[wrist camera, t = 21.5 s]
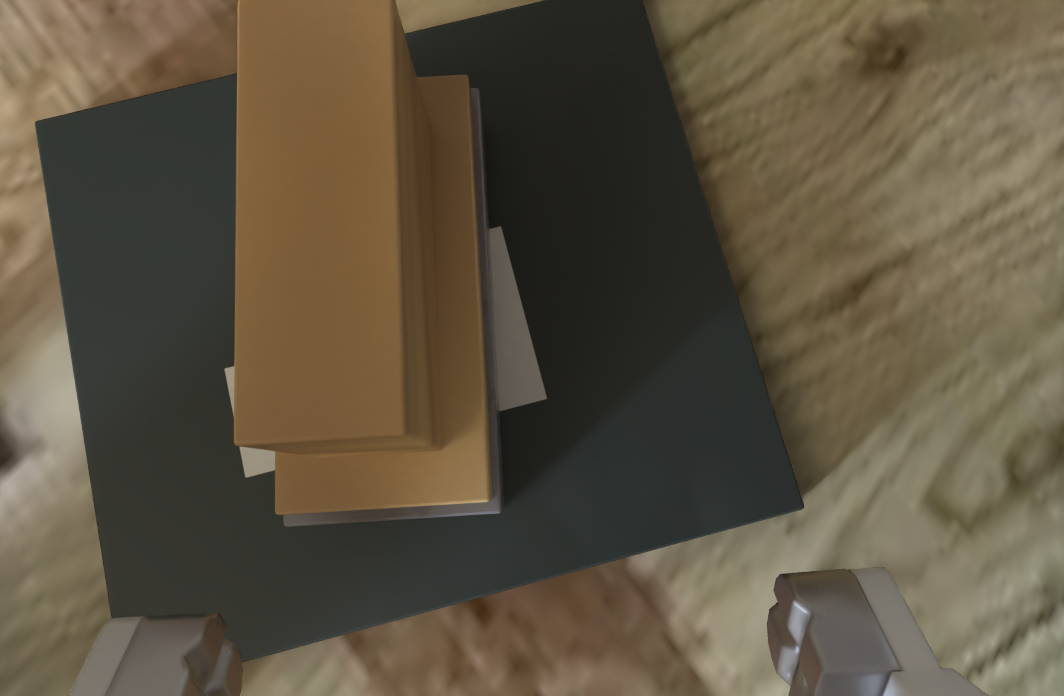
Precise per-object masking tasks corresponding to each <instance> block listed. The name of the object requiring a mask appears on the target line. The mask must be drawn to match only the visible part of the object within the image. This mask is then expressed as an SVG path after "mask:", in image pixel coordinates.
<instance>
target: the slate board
mask: <svg viewBox="0 0 1064 696" xmlns="http://www.w3.org/2000/svg"><path fill="white" fill-rule="evenodd" d="M405 37H406V41H407V45H408V48H409V52H410V55H411V59H412V62H413V66H414V69H415V73H416V76H417V77H433V76H451V75H467V76H468V77H469V82H470V88H478V89H479V91H480V98H481V105H482V113H483V120H484V138H485V157H486V175H487V194H488V212H489V231H490V249H491V267H492V286H493V304H494V323H495V341H496V360H497V378H498V396H499V415H500V433H501V452H502V470H503V489H504V507H505V508H504V510H503V511H502V512H501V513H497V514H481V515H465V516H449V517H434V518H418V519H402V520H386V521H370V522H355V523H339V524H323V525H307V526H291V527H286V526H284V515H277V514H276V512H275V451H269V450H262V449H254V448H247V447H240V446H237V445H235V443H234V359H235V247H236V136H237V74H233V75H229V76H224V77H220V78H216V79H212V80H208V81H203V82H199V83H195V84H191V85H187V86H182V87H178V88H174V89H170V90H166V91H161V92H157V93H153V94H149V95H144V96H140V97H136V98H132V99H128V100H123V101H119V102H115V103H111V104H107V105H102V106H98V107H94V108H90V109H86V110H81V111H77V112H73V113H69V114H64V115H60V116H56V117H52V118H48V119H43V120H39V121H36V122H35V128H36V134H37V140H38V147H39V153H40V160H41V166H42V173H43V179H44V185H45V192H46V198H47V205H48V211H49V218H50V224H51V230H52V237H53V243H54V250H55V256H56V263H57V269H58V275H59V282H60V288H61V295H62V301H63V308H64V314H65V321H66V327H67V333H68V340H69V346H70V353H71V359H72V366H73V372H74V378H75V385H76V391H77V398H78V404H79V411H80V417H81V423H82V430H83V436H84V443H85V449H86V456H87V462H88V468H89V475H90V481H91V488H92V494H93V501H94V507H95V514H96V520H97V526H98V533H99V539H100V546H101V552H102V559H103V565H104V571H105V578H106V584H107V591H108V597H109V604H110V610H111V616H112V618H121V617H137V616H160V615H181V614H202V613H221V615H222V617H223V619H224V620H225V622H226V624H227V626H228V627H227V630H226V633H225V636H224V638H225V639H227V640H228V641H230V642H232V643H234V644H235V645H236V646H237V648H238V651H239V653H240V656H241V662H245V661H249V660H253V659H256V658H260V657H264V656H267V655H271V654H275V653H278V652H282V651H286V650H289V649H293V648H297V647H300V646H304V645H308V644H311V643H315V642H318V641H322V640H326V639H329V638H333V637H337V636H340V635H344V634H348V633H351V632H355V631H359V630H362V629H366V628H370V627H373V626H377V625H381V624H384V623H388V622H392V621H395V620H399V619H403V618H406V617H410V616H414V615H417V614H421V613H425V612H428V611H432V610H436V609H439V608H443V607H447V606H450V605H454V604H458V603H461V602H465V601H469V600H472V599H476V598H480V597H483V596H487V595H490V594H494V593H498V592H501V591H505V590H509V589H512V588H516V587H520V586H523V585H527V584H531V583H534V582H538V581H542V580H545V579H549V578H553V577H556V576H560V575H564V574H567V573H571V572H575V571H578V570H582V569H586V568H589V567H593V566H597V565H600V564H604V563H608V562H611V561H615V560H619V559H622V558H626V557H630V556H633V555H637V554H641V553H644V552H648V551H651V550H655V549H659V548H662V547H666V546H670V545H673V544H677V543H681V542H684V541H688V540H692V539H695V538H699V537H703V536H706V535H710V534H714V533H717V532H721V531H725V530H728V529H732V528H736V527H739V526H743V525H747V524H750V523H754V522H758V521H761V520H765V519H769V518H772V517H776V516H780V515H783V514H787V513H791V512H794V511H798V510H802V509H803V508H804V503H803V500H802V497H801V494H800V491H799V488H798V485H797V481H796V478H795V475H794V472H793V469H792V466H791V463H790V460H789V456H788V453H787V450H786V447H785V444H784V441H783V438H782V435H781V432H780V428H779V425H778V422H777V419H776V416H775V413H774V410H773V407H772V404H771V400H770V397H769V394H768V391H767V388H766V385H765V382H764V379H763V375H762V372H761V369H760V366H759V363H758V360H757V357H756V354H755V351H754V347H753V344H752V341H751V338H750V335H749V332H748V329H747V326H746V323H745V319H744V316H743V313H742V310H741V307H740V304H739V301H738V298H737V294H736V291H735V288H734V285H733V282H732V279H731V276H730V273H729V270H728V266H727V263H726V260H725V257H724V254H723V251H722V248H721V245H720V242H719V238H718V235H717V232H716V229H715V226H714V223H713V220H712V217H711V213H710V210H709V207H708V204H707V201H706V198H705V195H704V192H703V189H702V185H701V182H700V179H699V176H698V173H697V170H696V167H695V164H694V161H693V157H692V154H691V151H690V148H689V145H688V142H687V139H686V136H685V133H684V129H683V126H682V123H681V120H680V117H679V114H678V111H677V108H676V104H675V101H674V98H673V95H672V92H671V89H670V86H669V83H668V80H667V76H666V73H665V70H664V67H663V64H662V61H661V58H660V55H659V52H658V48H657V45H656V42H655V39H654V36H653V33H652V30H651V27H650V23H649V20H648V17H647V14H646V11H645V8H644V5H643V2H642V0H545V1H540V2H536V3H532V4H528V5H524V6H519V7H515V8H511V9H507V10H502V11H498V12H494V13H490V14H486V15H481V16H477V17H473V18H469V19H465V20H460V21H456V22H452V23H448V24H444V25H439V26H435V27H431V28H427V29H422V30H418V31H414V32H410V33H406V34H405Z"/></svg>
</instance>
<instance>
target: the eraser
mask: <svg viewBox="0 0 1064 696" xmlns="http://www.w3.org/2000/svg"><path fill="white" fill-rule="evenodd" d="M234 443H235V445H237V446H240V447H247V448H254V449H262V450H269V451H275V512H276V514H277V515H284V526H286V527H291V526H307V525H323V524H339V523H355V522H370V521H386V520H402V519H418V518H434V517H449V516H465V515H481V514H497V513H501V512H502V511H503V510H504V508H505V507H504V489H503V470H502V452H501V433H500V415H499V396H498V378H497V360H496V341H495V323H494V304H493V286H492V267H491V249H490V231H489V212H488V194H487V175H486V157H485V138H484V120H483V113H482V105H481V98H480V91H479V89H478V88H470V82H469V77H468V76H467V75H451V76H433V77H417V76H416V73H415V69H414V66H413V62H412V59H411V55H410V52H409V48H408V45H407V41H406V37H405V34H404V30H403V27H402V23H401V20H400V16H399V13H398V9H397V6H396V2H395V0H238V24H237V136H236V247H235V359H234Z"/></svg>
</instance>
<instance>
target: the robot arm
mask: <svg viewBox="0 0 1064 696" xmlns="http://www.w3.org/2000/svg"><path fill="white" fill-rule="evenodd" d="M774 593H775V596H776V598H777V601H778V602H777V603H776V604H775V605H774V606H773V607H771V608H770V609H769V615H768V621H767V631H768V643H769V648H770V652H771V657H772V660H773V663H774V666H775V670H776V673H777V674H778V675H779V676H780V677H781V678H782V679H783V680H784V681H786V682H787V683H788V684H789V685H790V686H791V688H790V692H789V696H989V695H987V694H986V693H985V692H983V691H982V690H981V689H979V688H978V687H977V686H975V685H974V684H973V683H971V682H970V681H969V680H968V679H966V678H965V677H964V676H962V675H961V674H960V673H958V672H957V671H956V670H954V669H953V668H941V666H940V664H939V662H938V660H937V659H936V657H935V655H934V653H933V651H932V649H931V647H930V646H929V644H928V642H927V640H926V638H925V636H924V635H923V633H922V631H921V629H920V627H919V625H918V623H917V622H916V620H915V618H914V616H913V614H912V612H911V611H910V609H909V607H908V605H907V603H906V601H905V599H904V598H903V596H902V594H901V592H900V590H899V588H898V587H897V585H896V583H895V581H894V579H893V577H892V575H891V574H890V573H889V572H888V571H887V570H886V569H885V568H884V567H873V568H861V569H849V570H846V569H835V570H823V571H811V572H798V573H786V574H780V575H779V576H778V577H777V578H776V581H775V585H774ZM227 627H228V626H227V624H226V622H225V620H224V619H223V617H222V615H221V613H202V614H181V615H160V616H137V617H121V618H111V619H110V620H109V621H108V622H107V623H106V624H105V625H104V626H103V627H102V629H101V630H100V632H99V634H98V636H97V638H96V640H95V642H94V644H93V646H92V648H91V650H90V652H89V654H88V656H87V658H86V660H85V662H84V664H83V667H82V669H81V671H80V673H79V675H78V677H77V679H76V681H75V683H74V685H73V687H72V689H71V691H70V693H69V695H68V696H240V693H241V685H242V672H243V669H242V662H241V656H240V653H239V651H238V648H237V646H236V645H235V644H234V643H232V642H230V641H228V640H227V639H225V638H224V636H225V633H226V630H227Z"/></svg>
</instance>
